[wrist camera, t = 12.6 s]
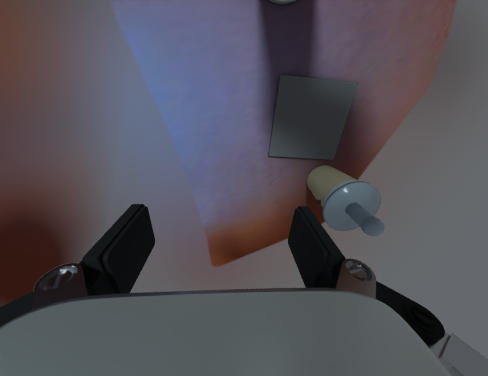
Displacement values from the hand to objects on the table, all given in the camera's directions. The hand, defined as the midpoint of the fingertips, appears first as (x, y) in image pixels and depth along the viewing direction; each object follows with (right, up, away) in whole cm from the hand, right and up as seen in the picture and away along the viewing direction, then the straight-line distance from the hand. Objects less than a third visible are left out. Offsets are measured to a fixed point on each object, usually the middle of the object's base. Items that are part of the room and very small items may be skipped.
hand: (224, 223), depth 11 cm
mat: (+16, +17, +27) cm, 35 cm away
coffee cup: (+21, +5, +34) cm, 40 cm away
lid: (+22, -1, +23) cm, 32 cm away
